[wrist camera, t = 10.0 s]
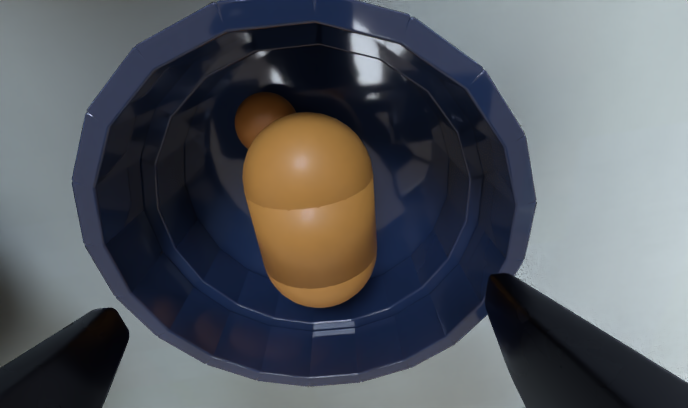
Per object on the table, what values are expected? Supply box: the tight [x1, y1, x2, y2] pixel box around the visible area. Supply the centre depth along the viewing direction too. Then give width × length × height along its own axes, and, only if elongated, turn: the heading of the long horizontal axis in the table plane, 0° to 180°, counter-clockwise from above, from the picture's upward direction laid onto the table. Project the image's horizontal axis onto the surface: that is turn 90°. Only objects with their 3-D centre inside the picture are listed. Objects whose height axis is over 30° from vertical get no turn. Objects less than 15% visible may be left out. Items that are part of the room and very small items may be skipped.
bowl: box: [72, 0, 537, 387], centre depth 12 cm, size 13×13×5 cm
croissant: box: [235, 92, 377, 308], centre depth 12 cm, size 5×9×4 cm, turn 5°
